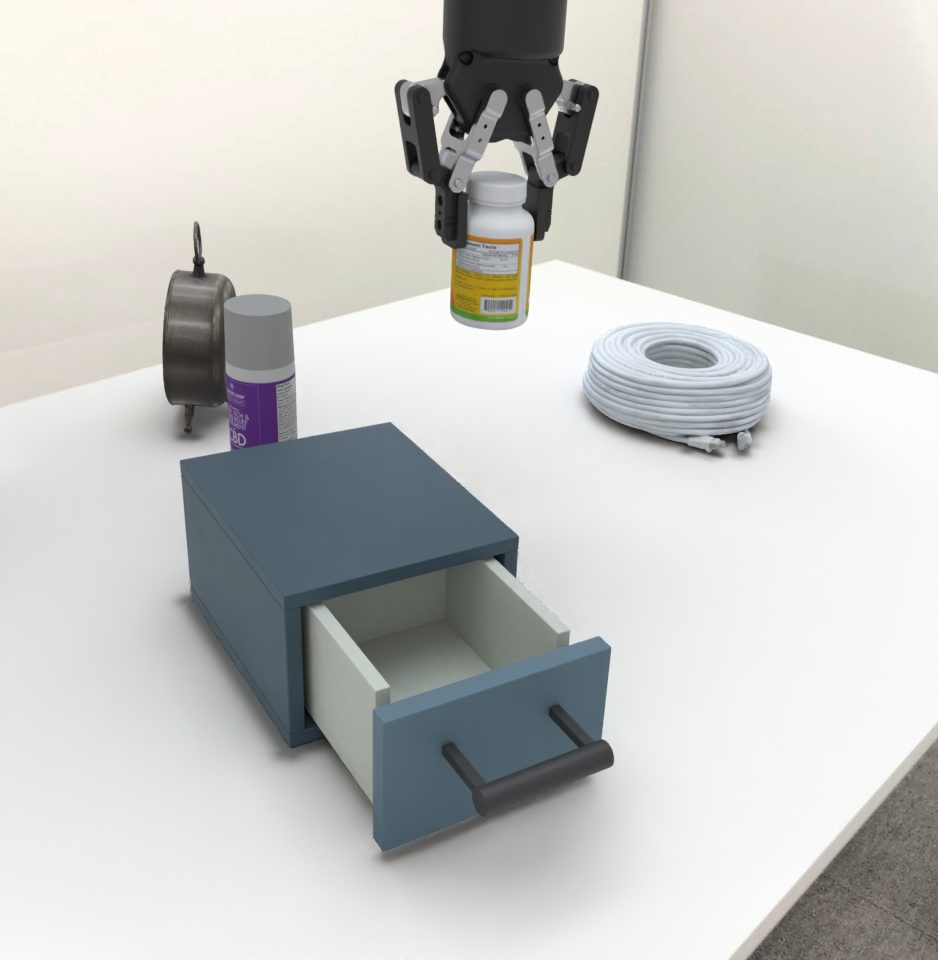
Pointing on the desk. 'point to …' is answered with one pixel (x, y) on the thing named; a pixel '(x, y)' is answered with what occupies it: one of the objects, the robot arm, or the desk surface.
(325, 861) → the desk surface
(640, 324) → the cable
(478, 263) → the supplement bottle
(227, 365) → the container
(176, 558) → the desk surface
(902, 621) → the desk surface
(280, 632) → the cabinet
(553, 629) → the drawer
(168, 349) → the alarm clock
